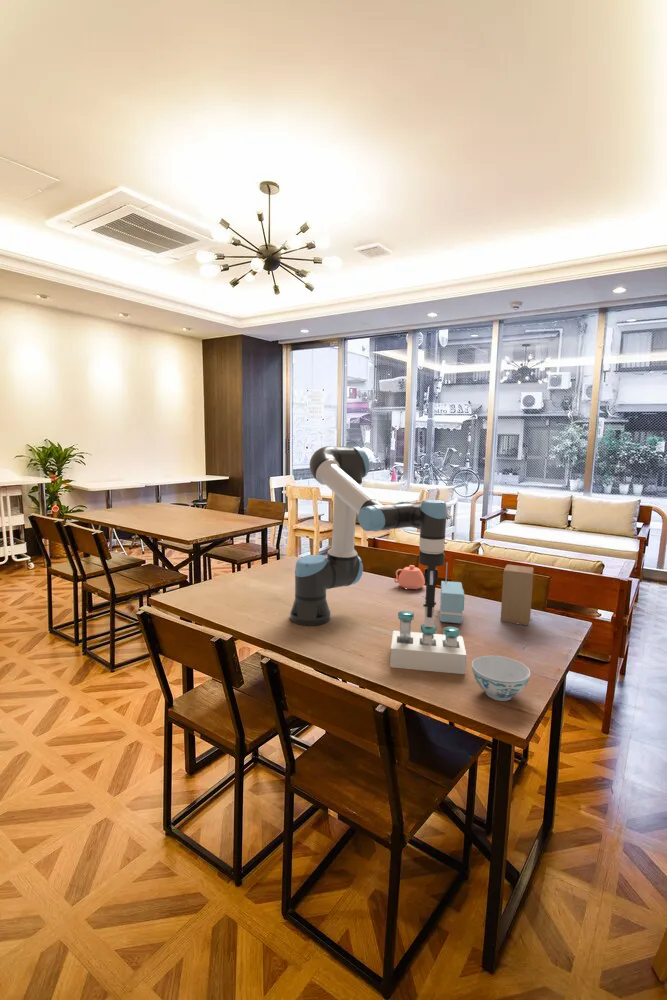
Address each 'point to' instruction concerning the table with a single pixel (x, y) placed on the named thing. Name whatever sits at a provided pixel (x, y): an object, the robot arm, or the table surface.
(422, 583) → the pink teapot
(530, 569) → the wooden block
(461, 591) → the radio
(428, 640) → the knob mid
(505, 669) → the chinaware
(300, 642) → the table surface
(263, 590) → the table surface
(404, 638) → the knob
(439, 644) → the mount
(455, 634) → the knob
